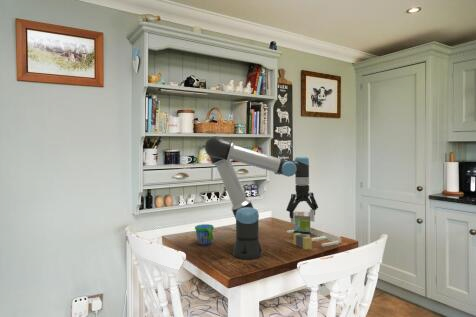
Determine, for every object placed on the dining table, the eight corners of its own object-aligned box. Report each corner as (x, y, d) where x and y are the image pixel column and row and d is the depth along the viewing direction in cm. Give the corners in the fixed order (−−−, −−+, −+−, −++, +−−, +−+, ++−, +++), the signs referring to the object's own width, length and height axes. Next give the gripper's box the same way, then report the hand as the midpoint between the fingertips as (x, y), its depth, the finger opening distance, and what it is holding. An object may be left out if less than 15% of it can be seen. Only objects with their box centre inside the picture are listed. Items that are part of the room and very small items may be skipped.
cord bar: (305, 249, 171) (305, 238, 171) (293, 244, 181) (293, 233, 181) (311, 248, 173) (311, 237, 173) (299, 243, 183) (299, 233, 183)
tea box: (310, 240, 189) (310, 215, 189) (293, 239, 191) (293, 215, 191) (310, 234, 204) (310, 211, 204) (294, 233, 206) (294, 210, 206)
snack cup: (191, 241, 188) (190, 224, 188) (207, 239, 194) (207, 222, 193) (201, 248, 175) (201, 230, 175) (218, 245, 180) (218, 227, 180)
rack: (323, 246, 176) (323, 239, 176) (286, 232, 208) (286, 226, 208) (341, 243, 182) (341, 236, 182) (303, 230, 214) (303, 224, 214)
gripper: (287, 186, 167) (288, 226, 168) (324, 183, 178) (324, 221, 179) (279, 185, 174) (280, 223, 175) (315, 182, 185) (315, 218, 186)
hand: (302, 222), depth 177 cm, fingers open, 13 cm apart
